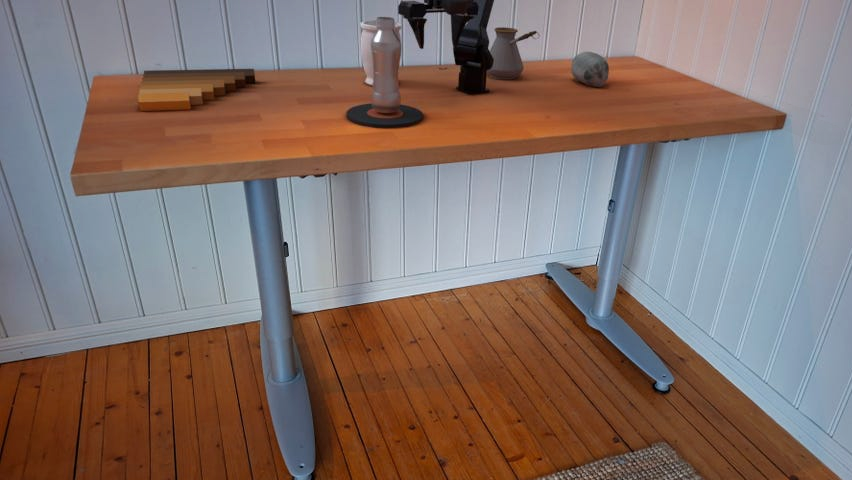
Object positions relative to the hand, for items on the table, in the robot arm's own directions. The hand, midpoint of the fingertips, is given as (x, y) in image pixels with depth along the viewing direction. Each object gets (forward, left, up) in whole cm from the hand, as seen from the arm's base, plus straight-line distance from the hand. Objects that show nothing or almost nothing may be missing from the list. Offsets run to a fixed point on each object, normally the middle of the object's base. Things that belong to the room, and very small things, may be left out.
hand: (438, 47), depth 159 cm
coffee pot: (-32, -11, -13) cm, 36 cm away
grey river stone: (-51, 0, -13) cm, 53 cm away
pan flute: (+47, -28, -13) cm, 56 cm away
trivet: (+17, +5, -13) cm, 22 cm away
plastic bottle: (+17, +5, -12) cm, 21 cm away
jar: (+3, -22, -13) cm, 26 cm away
